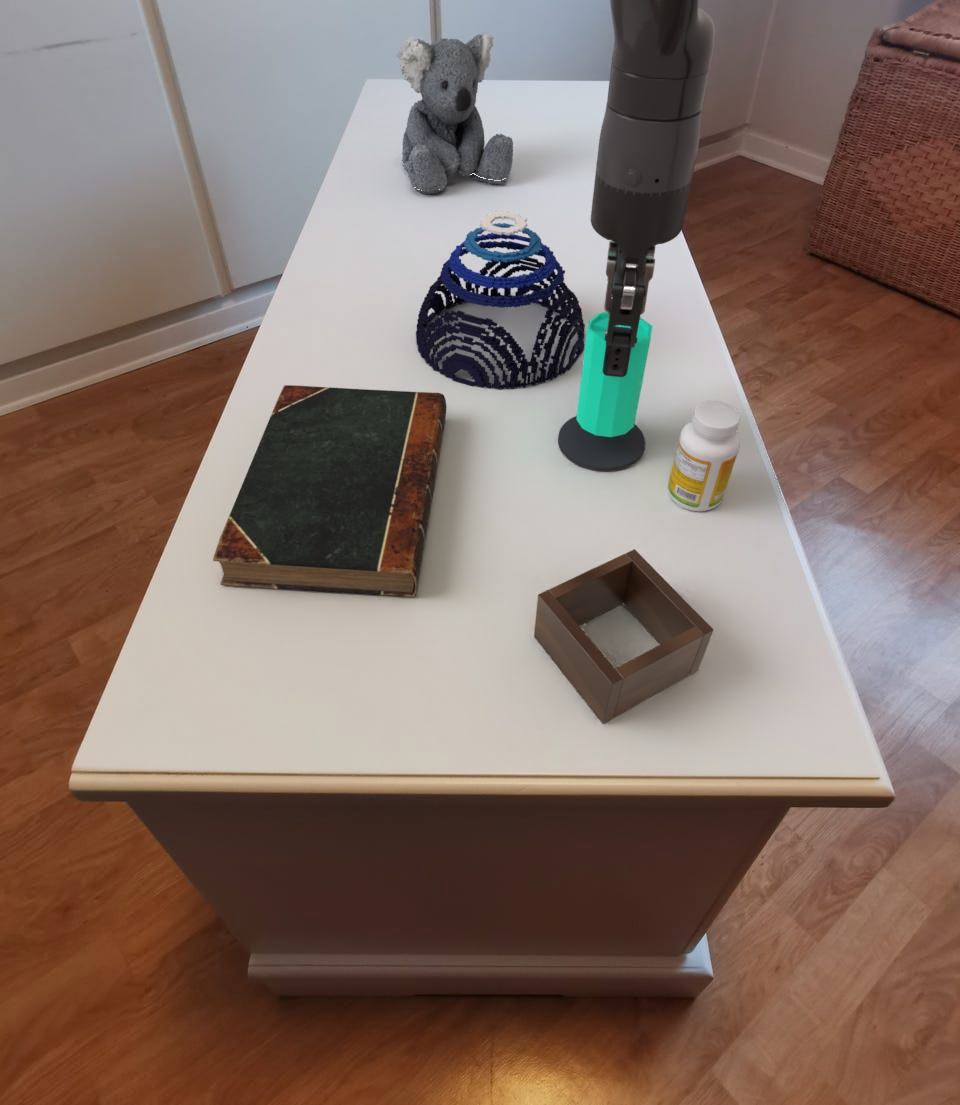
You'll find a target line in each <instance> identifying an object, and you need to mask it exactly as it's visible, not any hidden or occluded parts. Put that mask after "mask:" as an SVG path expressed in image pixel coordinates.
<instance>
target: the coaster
mask: <svg viewBox="0 0 960 1105" xmlns="http://www.w3.org/2000/svg"><path fill="white" fill-rule="evenodd" d="M576 418H577V415H575V416H573V417H571V418H569V419H568V420H566V421H565V422H564V423H563V425H562V426H561V427H560V429H559V431H558V437H557V443H558V447H559V451H561V453H562V454H563V456H564V457H565V458H566V459H567V460H569V462H571V463H573V464H574V465H576V466H579V467H581V468H583V469H586V470H590V471H594V472H604V473H605V472H607V473H608V472H617V471H621V470H622V471H623V470H625V469H628V468H630V467H632V466H634V465H635V464H636V463H638V462H639V461H640V460H641V459H642V457H643V455H644V453H645V448H646V438H645V436H644V433H643V431H642V430H641V429H640V427H639V426H637V425H636V423H635V424H634V427H633V428H632V429H631V430H629V431H628V432H627V433H626V434H623V435H619V436H614V437H605V436H598V435H594V434H592V433H590V432H588V431H586V430H584V429H582V427H581V426H580V424H579V423H578V421H577V420H576Z"/></svg>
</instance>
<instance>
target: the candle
mask: <svg viewBox="0 0 960 1105" xmlns="http://www.w3.org/2000/svg"><path fill="white" fill-rule="evenodd" d="M608 320H609V313H608V312H606V311H603V312H598V313H597V314H596V315H594V316H593V317H591V319H590V320H588V322H587V327H586V335H585V341H584V350H583V360H582V368H581V376H580V386H579V393H578V403H577V411H576V416H577V418H576V420H577V421H578V423H579V424H580V426H581V427H582V429H584V430H586V431H588V432H590V433H592V434H594V435H598V436H605V437H614V436H619V435H623V434H626V433H627V432H628V431H629V430H631V429H632V428H633V427H634V424H635V425H636V417H637V413H638V408H639V403H640V397H641V392H642V386H643V381H644V377H645V370H646V365H647V361H648V360H647V359H648V355H649V349H650V346H651V338H652V332H653V331H652V330H653V325H652V324H651V323H649V322H648V321H646V320H645V319H643V317H641V316H640V320H639V325H638V331H637V336H636V337H637V344H636V343H635V347H634V348H633V347H631V353H630V359H629V365H628V371H627V374H626V376H624V377H615V376H606V375H604V374H603V363H604V356H605V349H606V341H605V330H607V327H608ZM615 327H625V328H630V326H622V325H616V326H615Z"/></svg>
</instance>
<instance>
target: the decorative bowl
mask: <svg viewBox="0 0 960 1105" xmlns="http://www.w3.org/2000/svg"><path fill="white" fill-rule="evenodd" d="M499 219H500V220H505V219H506V220H510V221H514V224H511V223H505V222H503V223H500V222H498V223H493V222H494V221H496V220H499ZM527 221H528V218H527V217H522V215H521V214H519V213H515V212H510V211H495V212H494V211H492V212H491V213H490V214H486V215H485V216H484V217H482V218H481V219H480V222H479V227H476V228H475V229H474V230H473V231H472V230H470V231H469V232H468V233H467V234H466V237H465V239H464V241H462V242H461V243H460V244H459V245H455V248H454V250H452V252H450V256H449V259H448V260H446V261H445V262H444V263H443V264H442V267H441V271H440V272H439V273H440V275H439V276H438V277H437V280H436V281H435V282H433V284H431V285H430V286H429V289H428V291H427V293H426V296H425V297H424V298H423V301H422V303H421V305H420V308H419V311H418V312H419V313H418V315H417V320H416V321H417V324H416V331H415V340H416V345H417V351H418V353H419V354H420V357H421V358H422V359H424V361H425V363H426V364H427V365H428V366H429V367H431V369H432V370H433V371H435V372H439V374H440V375H444V377H445V378H449V379H452V381H453V382H457V383H460V384H464V385H467V386H471V387H478V388H487V389H495V390H500V391H501V390H504V389H507V390H509V389H511V390H514V389H518V388H519V389H520V388H524V389H526V387H527V386H528V387H529V386H533V387H535V386H536V384H537V385H539V384H542V383H544V384H545V383H546V382H548V381H553V379H557V377H558V376H561V375H562V374H565V373H566V372H567V371H570V370H571V369H572V367H573V366H574V364H575V363H576V362H577V360H578V359H579V358H580V356H581V355H582V353H584V350H585V336H586V335H585V329H586V324H585V322H584V318H583V311H582V307H581V305H580V301H579V300H578V297H577V295H576V294H575V293H574V291H571V289H570V288H569V287H568V285H567V283H566V282H565V273H566V270H565V269H563V266H562V265H561V263H559V261H558V260H557V259H556V256H555V255H554V251H553V250H551V249H550V248H551V247H549V246H547V245H546V244H544V243H543V242H542V238H541V237H540V236H539V235H538V233H537V232H535V231H533V229H532V230H531V228H528V223H527ZM484 232H487V234H483V233H484ZM518 233H522V234H524V235H527V236H528V237H527V236H523V235H518ZM500 239H501V241H496V240H500ZM502 239H503V240H502ZM491 240H492V241H491ZM507 240H508V241H507ZM512 240H513V241H512ZM515 240H517V241H522V242H525V243H528V244H524V243H519V242H515ZM496 248H500V249H506V250H507V251H508V250H513V251H509V252H507V251H506V252H502V251H498V250H493V251H491V250H490V249H496ZM488 249H489V250H488ZM469 253H470V255H474V256H476V257H477V258H480V259H482V260H484V261H487V262H486V263H485V266H483V267H482V268H481V269H480V270H479V272H476V271H473V269H471V268H468V267H467V266H466V265H465V263H462V259H461V258H460V257H463V256H465V255H467V254H469ZM533 256H539V257H542V258H544V262H542V261H539V259H537V258H534V257H533ZM511 265H513V266H512V267H511V268H509V267H510V266H511ZM514 265H515V266H514ZM507 268H509V269H508V270H506V269H507ZM503 269H504V270H506V271H505V272H504V273H503V274H501V275H500V276H498V275H497V274H498V273H500V272H501V271H502V270H503ZM520 271H521V272H527V271H530V272H529V273H528V274H526V273H522V274H519V275H518V276H515V275H513V274H516V272H517V273H519V272H520ZM495 275H496V276H495ZM461 279H462V280H463V281H464V282H465V284H464V285H465V286H463V284H462V283H461ZM544 279H545V280H544ZM546 282H549V283H546ZM473 285H474V287H473ZM464 287H465V288H464ZM481 287H483V288H482V291H480V293H479V289H480V288H481ZM500 289H503V290H504V291H503V294H501V292H500V291H499V290H500ZM512 289H517V291H515V294H513V295H512ZM489 290H490V295H489ZM530 291H531V293H529V292H530ZM438 292H439V293H438ZM440 292H441V293H440ZM442 294H443V295H444V298H445V302H444V299H443V296H442ZM556 296H557V297H556ZM463 303H464V304H465V303H471V304H474V305H478V306H481V307H491V308H495V307H496V308H501V309H503V308H506V309H508V308H519V307H524V306H530V305H531V304H537V305H540V306H541V307H545V308H547V310H546V311H545V314H544V318H545V320H544V322H543V321H542V322H541V323H540V327H539V329H538V331H537V333H536V336H535V340H534V344H533V347H532V352H531V357H530V358H529V361H528V359H527V358H526V353H524V349H522V346H521V345H520V344H519V343H518V341H517V340H516V338H514V336H513V335H511V332H508V331H507V329H505V327H504V326H502V325H499V326H498V322H495V321H494V319H493V318H489V317H486V318H483V317H478V316H476V315H471V314H468V313H466V312H465V311H462V310H458V309H457V311H454V310H451V311H444V310H447V309H451V308H452V307H455V306H457V304H458V305H462V304H463ZM430 310H433V312H431V313H430V314H429V311H430ZM443 311H444V312H443ZM554 312H555V313H559V314H556V315H555V316H553V314H554ZM441 313H443V314H441ZM436 316H437V317H436ZM435 317H436V318H435ZM434 318H435V319H434ZM433 319H434V320H433ZM459 319H460V320H461V321H458V320H459ZM565 319H566V320H565ZM432 320H433V321H432ZM561 320H565V321H564V322H563V321H561ZM454 321H455V322H454ZM462 321H463V322H462ZM453 322H454V323H453ZM466 322H468V323H466ZM446 323H447V324H446ZM451 323H453V324H451ZM470 323H471V324H470ZM556 323H557V324H556ZM473 324H475V325H473ZM478 325H479V326H478ZM482 325H484V326H487V330H489V331H487V330H486V328H485V327H481V326H482ZM548 325H549V329H548V328H547V327H548ZM573 328H574V329H573ZM549 330H551V332H550V336H548V339H547V342H545V340H546V338H547V335H548V333H549ZM490 331H491V333H492V334H493V335H491V333H490ZM542 331H543V332H542ZM447 334H448V335H449V336H448V337H447ZM459 334H463V335H464V336H463V337H462V336H459ZM466 335H467V336H466ZM576 335H577V338H578V339H577V340H576V341H575V343H574V344H573V345H572V347H571V350H570V353H569V356H568V362H567V364H566V365H565V360H566V357H567V352H568V351H569V347H570V346H571V345H570V344H571V341H572V340H573V338H574V337H575V336H576ZM557 336H558V337H559V339H558V343H557V344H556V348H555V351H554V353H553V355H551V353H552V348H553V346H554V344H555V342H556V338H557ZM443 337H444V338H443ZM473 337H475V338H478V339H479V341H476V340H475V341H474V338H473ZM498 337H499V338H498ZM440 339H441V340H440ZM439 340H440V341H439ZM452 341H453V342H456V341H459V342H460V343H461V344H462V343H463V344H462V345H458V344H453V343H452ZM501 341H502V342H501ZM539 341H540V342H539ZM436 342H437V343H436ZM448 342H449V343H451V344H450V345H449V346H446V344H447V343H448ZM435 343H436V344H435ZM501 343H502V344H501ZM503 343H504V344H503ZM444 345H445V346H444ZM468 345H469V346H468ZM508 345H509V349H510V350H511V351H510V350H509V349H508ZM441 346H442V347H443V346H444V347H443V348H442V349H440V347H441ZM471 346H478V347H480V349H482V351H483V352H484V353H488V354H489V356H491V359H493V361H494V362H495V365H496V366H497V368H498V369H499V371H501V382H500V375H498V373H497V372H495V371H496V366H495V365H494V364H493V363H491V362H492V361H491V360H489V358H488V357H485V354H483V352H482V351H479V350H475V349H472V347H471ZM489 346H490V348H489ZM541 346H542V347H541ZM439 349H440V350H439ZM456 350H459V351H463V352H467V353H470V354H473V355H474V357H473V356H469V355H466V354H462V353H458V352H455V351H456ZM543 350H544V352H543V357H542V359H540V358H541V354H542V351H543ZM493 351H494V352H493ZM431 352H432V353H431ZM450 352H452V354H451V355H450V356H448V354H449V353H450ZM453 352H454V353H453ZM512 354H513V355H512ZM446 355H447V356H446ZM435 356H436V357H435ZM498 356H499V357H500V358H501V360H503V362H502V361H501V360H499V359H498ZM443 357H445V359H443ZM475 357H477V358H478V360H476V359H475ZM514 357H515V359H514ZM538 359H540V360H539V361H537V360H538ZM550 359H551V360H552V362H550ZM479 360H480V361H482V363H483V364H484V365H485V366H483V365H482V364H481V363H480V362H479ZM440 361H442V362H441V368H440V366H439V363H440ZM548 363H549V364H548ZM539 364H541V366H539ZM518 365H519V367H518ZM564 365H565V366H564ZM504 366H505V369H506V370H507V372H509V376H508V374H506V370H505V369H504ZM486 367H487V369H488V370H489V371H490V372H491V376H492V377H493V383H491V382H490V376H489V375H488V371H487V370H486ZM529 367H530V371H529ZM546 368H547V369H546ZM461 371H465V372H467V374H468V375H469V377H471V379H472V380H471V379H466V378H464V377H460V376H457V375H456V374H457V373H459V372H461ZM538 371H539V375H538V376H537V374H538ZM520 374H521V375H520ZM519 375H520V376H521V377H520V378H521V379H522V380H520V379H519ZM531 376H532V377H531ZM508 377H509V381H508ZM531 379H532V381H531ZM473 380H474V381H473ZM502 382H503V383H502Z"/></svg>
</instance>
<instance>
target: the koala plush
mask: <svg viewBox="0 0 960 1105" xmlns="http://www.w3.org/2000/svg"><path fill="white" fill-rule="evenodd" d="M493 39H494V37H493V36H492V35H489V34H486V33H485V32H484V31H482V33H480V34H476V35H474V36H473V37H472V38H471V39H469V40H468V41H467V42H466V43H464V42H463V41H461V40H460V39H458V38H450V39H449V38H447V37H446V38H444V37H442V38H440V39H438V40H435V41H434V42H432V43H431V44H430V43H428V42H426V41H425V40H421V39H420V38H417V39H415V37H414V36H409V38H406V39H405V41H404V42H403V43H402V46H399V49H400V50H398V52H397V54H396V57H397V58H398V59H399V60H400V62H399V63H400V64H399V69H400V72H401V75H402V77H403V78H404V79H403V80H404V81H406V82H408V84H410V89H413V91H414V92H415V93H417V94H420V95H421V99H420V100H417V102H414V103H413V105H412V106H411V107H410V110H409V114H408V117H407V120H406V121H407V122H406V127H405V131H404V132H403V135H402V136H403V137H402V152H401V155H402V157H401V162H403V164H404V166H403V170H404V171H405V172H406V171H407V170H408V171H407V173H408V177H409V181H410V185H411V187H412V188H413V189H414V190H415V191H418V192H419V193H422V194H425V195H431V194H435V195H436V194H439V193H440V192H443V191H444V190H445V188H446V187H447V184H448V177H447V176H448V175H449V176H452V175H453V174H455V173H457V172H458V174H459V175H460V176H463V175H464V176H463V177H465V176H466V175H470V174H472V173H475V174H476V175H478V176H480V177H484V178H486V179H483V178H480V177H478V176H476V175H474V174H472V175H470V176H466V177H469V178H471V179H473V180H476V181H479V182H484V183H488V184H489V185H491V184H493V185H500V184H504V183H506V181H507V179H508V178H509V175H510V174H511V173H510V172H511V171H512V167H513V166H512V165H513V161H514V160H513V158H514V153H513V152H514V141H513V138H512V137H511V136H506V135H505V134H503V133H499V134H498V133H496V134H495V135H492V137H490V138H489V140H488V141H487V142H486V144H485V130H484V127H483V126H484V125H483V121H482V118H481V116H480V112H479V110H478V108H477V106H476V103H477V93H478V90H479V88H478V87H479V83H482V82H483V80H485V72H486V71H487V69H488V68H489V67H490V64H491V51H492V50H491V49H492V48H493V47H494V43H493V42H494V41H493ZM403 164H402V165H403ZM466 177H465V178H466ZM504 178H506V179H504ZM488 179H493V180H488ZM502 179H504V180H502ZM494 180H501V181H494ZM414 187H416V188H414ZM417 189H420V190H417ZM439 189H440V190H439ZM421 190H422V191H421Z"/></svg>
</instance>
